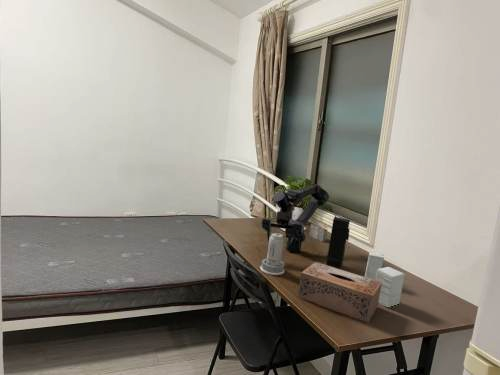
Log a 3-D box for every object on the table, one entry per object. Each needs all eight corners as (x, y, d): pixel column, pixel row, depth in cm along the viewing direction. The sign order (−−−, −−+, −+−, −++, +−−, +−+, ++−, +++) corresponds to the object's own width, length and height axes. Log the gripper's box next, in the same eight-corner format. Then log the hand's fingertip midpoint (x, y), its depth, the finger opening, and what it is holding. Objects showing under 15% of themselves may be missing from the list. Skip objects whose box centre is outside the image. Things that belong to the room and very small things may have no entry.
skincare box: (364, 281, 156) (369, 254, 154) (364, 277, 160) (368, 251, 158) (379, 284, 154) (384, 257, 152) (378, 280, 159) (383, 254, 156)
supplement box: (383, 296, 143) (388, 266, 141) (399, 305, 137) (405, 273, 135) (370, 299, 139) (376, 268, 137) (387, 308, 133) (393, 276, 131)
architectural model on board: (326, 242, 207) (328, 225, 205) (322, 242, 205) (324, 226, 203) (312, 235, 216) (315, 220, 214) (308, 236, 214) (311, 220, 213)
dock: (278, 265, 163) (279, 258, 162) (288, 274, 153) (289, 267, 153) (257, 265, 160) (257, 258, 159) (265, 275, 150) (266, 267, 149)
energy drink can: (262, 267, 156) (267, 233, 154) (271, 264, 161) (276, 231, 158) (273, 272, 152) (278, 238, 150) (282, 269, 157) (287, 235, 154)
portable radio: (344, 265, 172) (353, 214, 167) (342, 269, 166) (351, 217, 162) (328, 261, 175) (336, 211, 171) (325, 265, 170) (333, 213, 165)
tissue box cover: (377, 307, 134) (381, 282, 132) (367, 323, 121) (373, 295, 120) (311, 285, 146) (315, 261, 145) (297, 297, 134) (301, 272, 132)
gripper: (264, 201, 166) (255, 230, 158) (304, 207, 162) (298, 237, 153) (266, 214, 175) (259, 242, 167) (305, 219, 170) (299, 249, 162)
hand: (278, 242), depth 162 cm, fingers open, 9 cm apart
